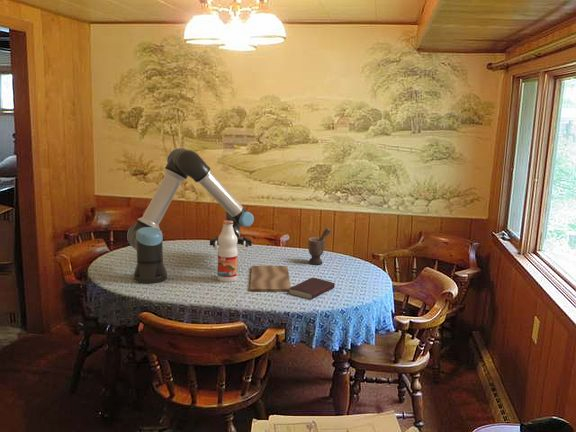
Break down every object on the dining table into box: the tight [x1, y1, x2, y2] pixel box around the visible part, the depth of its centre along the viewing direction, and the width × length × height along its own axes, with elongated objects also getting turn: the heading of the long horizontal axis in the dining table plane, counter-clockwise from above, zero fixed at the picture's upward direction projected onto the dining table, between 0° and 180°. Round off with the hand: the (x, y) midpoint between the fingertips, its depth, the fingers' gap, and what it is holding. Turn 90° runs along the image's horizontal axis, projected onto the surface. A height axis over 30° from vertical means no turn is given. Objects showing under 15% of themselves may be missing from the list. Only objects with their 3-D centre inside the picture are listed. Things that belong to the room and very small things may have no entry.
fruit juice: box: [217, 219, 239, 283], centre depth 249 cm, size 9×9×28 cm
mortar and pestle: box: [307, 227, 332, 266], centre depth 279 cm, size 12×9×20 cm
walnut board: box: [249, 265, 292, 293], centre depth 253 cm, size 18×36×1 cm, turn 3°
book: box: [288, 277, 336, 300], centre depth 238 cm, size 12×19×3 cm, turn 145°
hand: (229, 247), depth 252 cm, fingers open, 13 cm apart
